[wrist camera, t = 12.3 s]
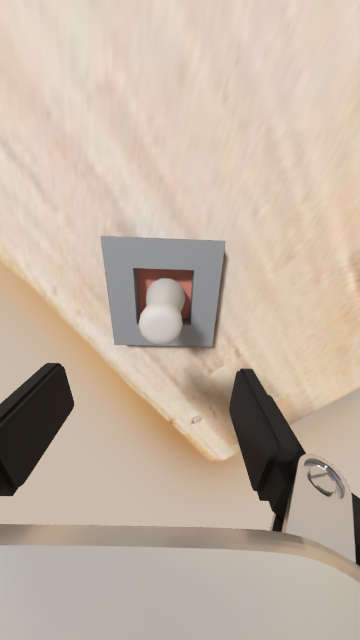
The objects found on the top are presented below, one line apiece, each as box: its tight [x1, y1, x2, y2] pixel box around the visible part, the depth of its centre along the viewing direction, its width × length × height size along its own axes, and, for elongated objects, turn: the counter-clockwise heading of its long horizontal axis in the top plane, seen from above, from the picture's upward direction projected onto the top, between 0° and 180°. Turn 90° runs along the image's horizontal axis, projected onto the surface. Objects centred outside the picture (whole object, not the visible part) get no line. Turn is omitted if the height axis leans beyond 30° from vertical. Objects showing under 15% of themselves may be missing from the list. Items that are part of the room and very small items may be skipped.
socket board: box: [101, 236, 226, 347], centre depth 27 cm, size 16×16×3 cm
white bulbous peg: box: [139, 278, 185, 345], centre depth 22 cm, size 6×6×13 cm
